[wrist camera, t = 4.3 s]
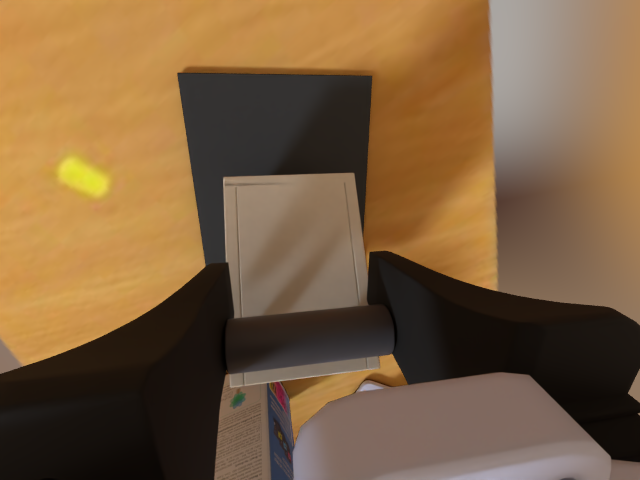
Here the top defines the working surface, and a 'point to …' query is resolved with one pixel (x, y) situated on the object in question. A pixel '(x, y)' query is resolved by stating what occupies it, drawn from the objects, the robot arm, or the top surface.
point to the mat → (270, 134)
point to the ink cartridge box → (254, 433)
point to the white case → (298, 280)
